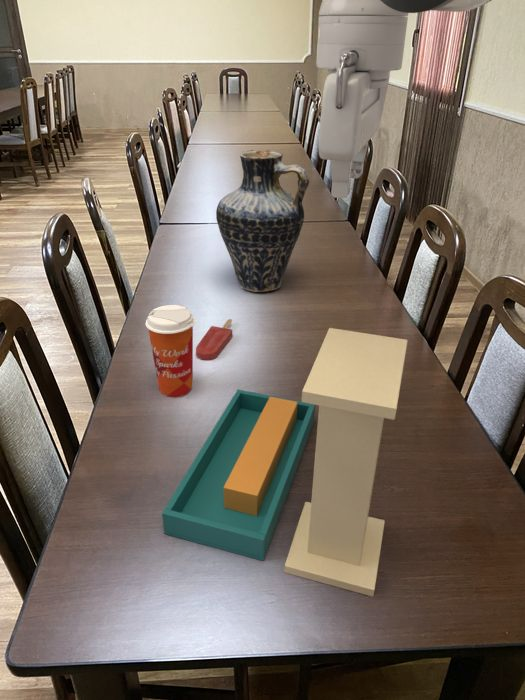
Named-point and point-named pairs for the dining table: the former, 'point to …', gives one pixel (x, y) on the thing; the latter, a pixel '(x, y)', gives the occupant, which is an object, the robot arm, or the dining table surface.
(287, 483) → the tray
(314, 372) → the stand
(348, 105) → the robot arm
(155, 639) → the dining table surface
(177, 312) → the paper cup
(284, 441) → the orange rectangular bar
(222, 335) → the popsicle
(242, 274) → the jug
